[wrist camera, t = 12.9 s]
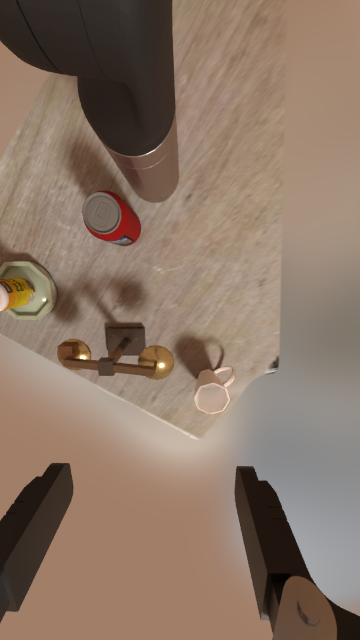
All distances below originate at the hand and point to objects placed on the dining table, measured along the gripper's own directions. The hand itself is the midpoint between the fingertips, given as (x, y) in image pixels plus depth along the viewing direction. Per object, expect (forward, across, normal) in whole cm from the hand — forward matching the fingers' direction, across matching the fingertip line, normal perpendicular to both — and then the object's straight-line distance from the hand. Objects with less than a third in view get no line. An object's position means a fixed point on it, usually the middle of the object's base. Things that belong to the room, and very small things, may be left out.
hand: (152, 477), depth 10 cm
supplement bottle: (+35, +31, -5) cm, 47 cm away
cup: (+36, -8, +14) cm, 40 cm away
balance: (+36, +11, +6) cm, 38 cm away
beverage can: (+36, +10, -17) cm, 41 cm away
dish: (+36, +31, -5) cm, 48 cm away
